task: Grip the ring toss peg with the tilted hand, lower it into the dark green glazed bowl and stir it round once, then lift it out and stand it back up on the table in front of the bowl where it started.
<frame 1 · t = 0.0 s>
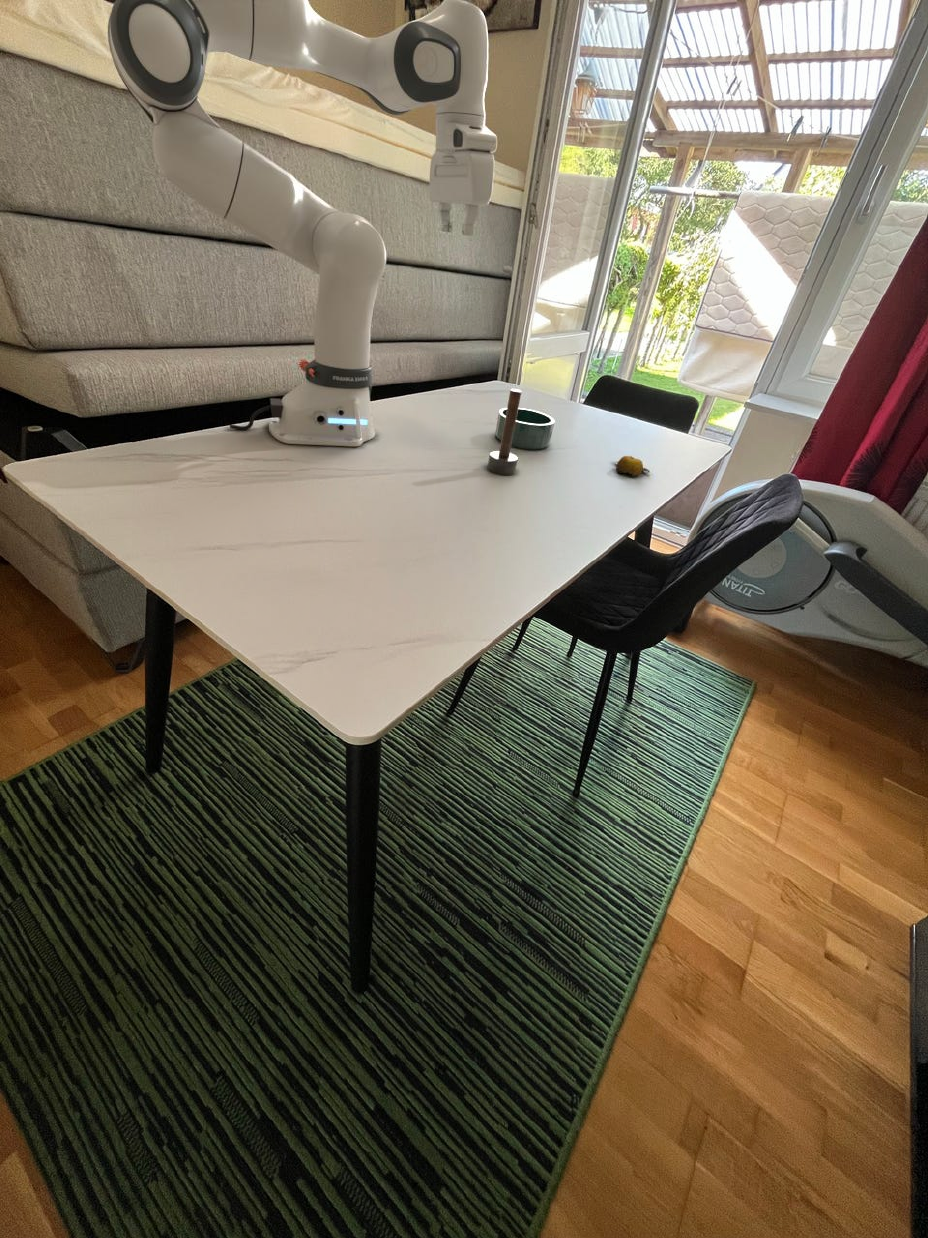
hand: (456, 233, 102), 39 cm above the table, tool pointing down, fingers open, 8 cm apart
bowl: (521, 440, 128), on the table
fruit: (631, 472, 121), on the table
ring toss peg: (501, 469, 110), on the table
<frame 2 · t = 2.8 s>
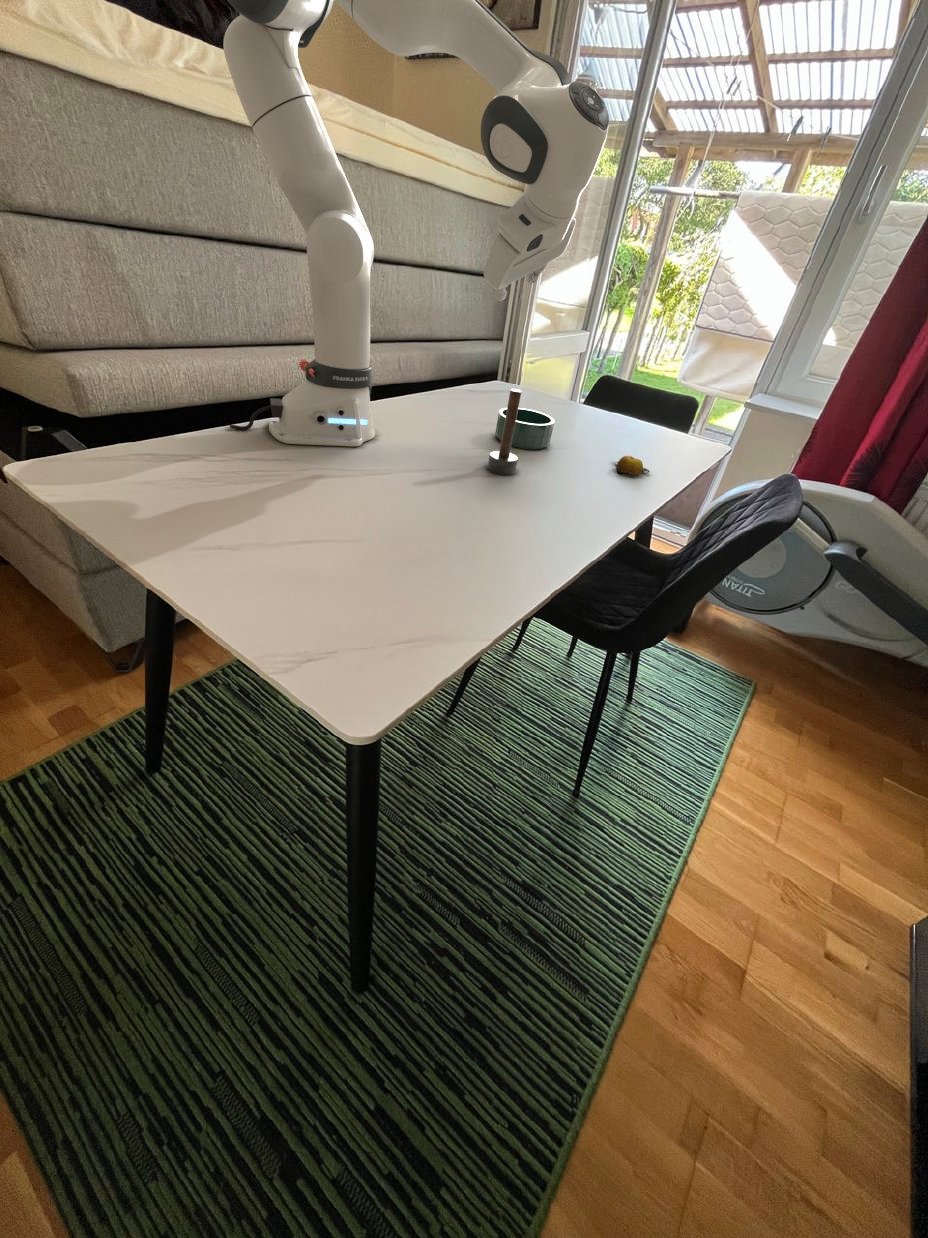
hand: (515, 289, 99), 32 cm above the table, tool tilted 35°, fingers open, 8 cm apart
nothing on the table moved.
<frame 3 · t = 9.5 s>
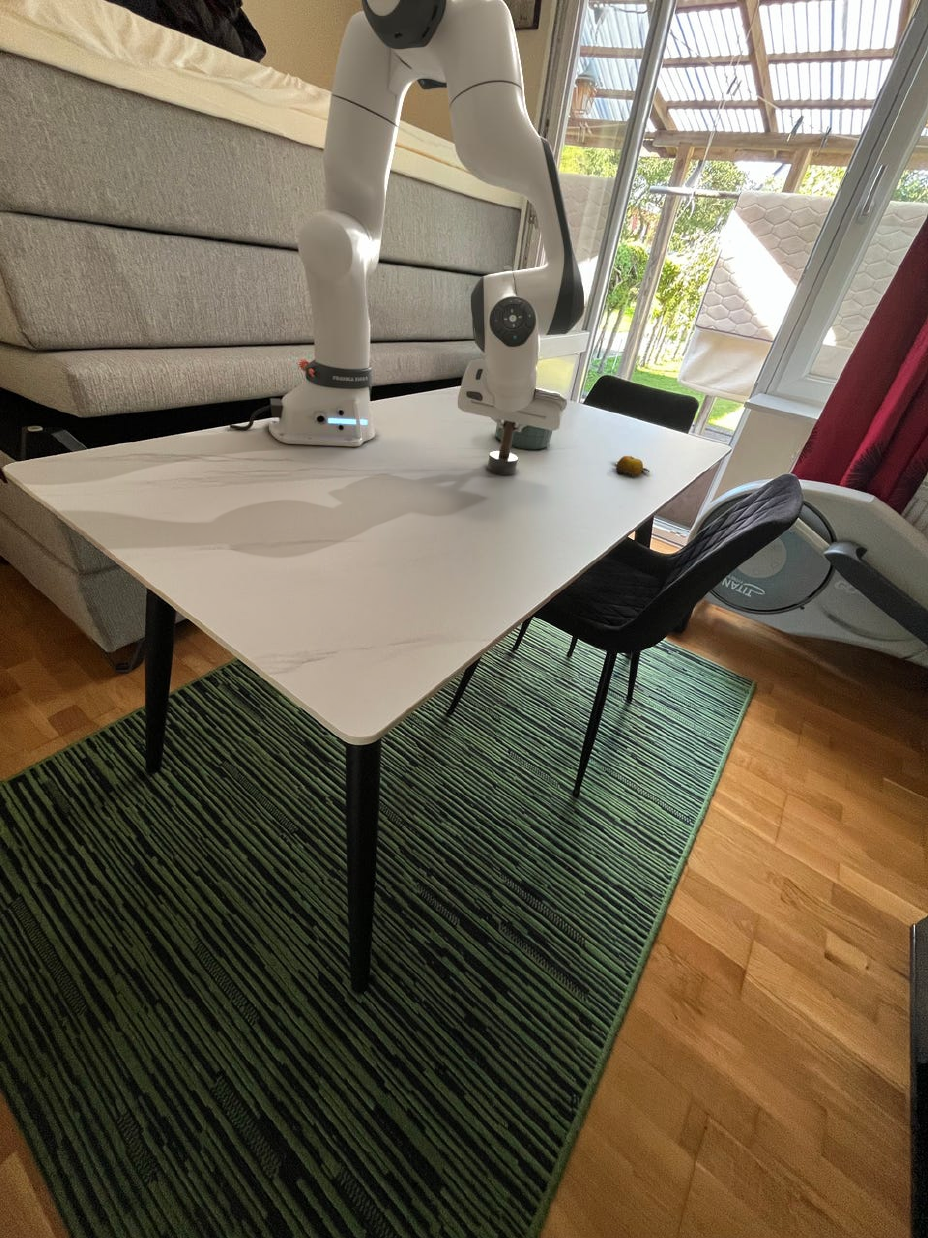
hand: (509, 426, 105), 9 cm above the table, tool tilted 45°, fingers closed on ring toss peg, 2 cm apart
ring toss peg: (501, 469, 110), on the table, touching gripper
everything else where it was.
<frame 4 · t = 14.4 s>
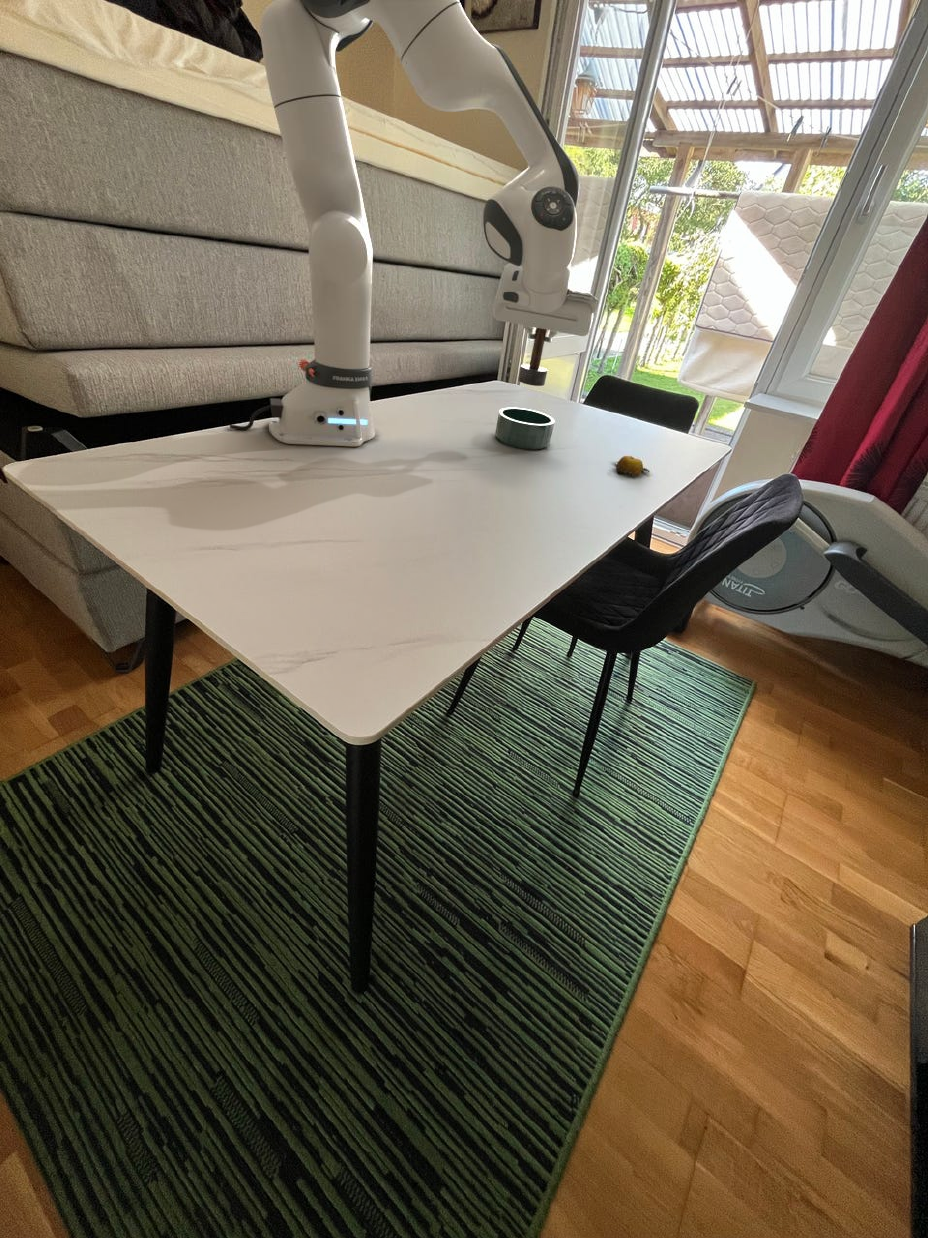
hand: (540, 337, 111), 23 cm above the table, tool tilted 45°, fingers closed on ring toss peg, 2 cm apart
ring toss peg: (531, 382, 116), point 15 cm above the table, touching gripper
everything else where it was.
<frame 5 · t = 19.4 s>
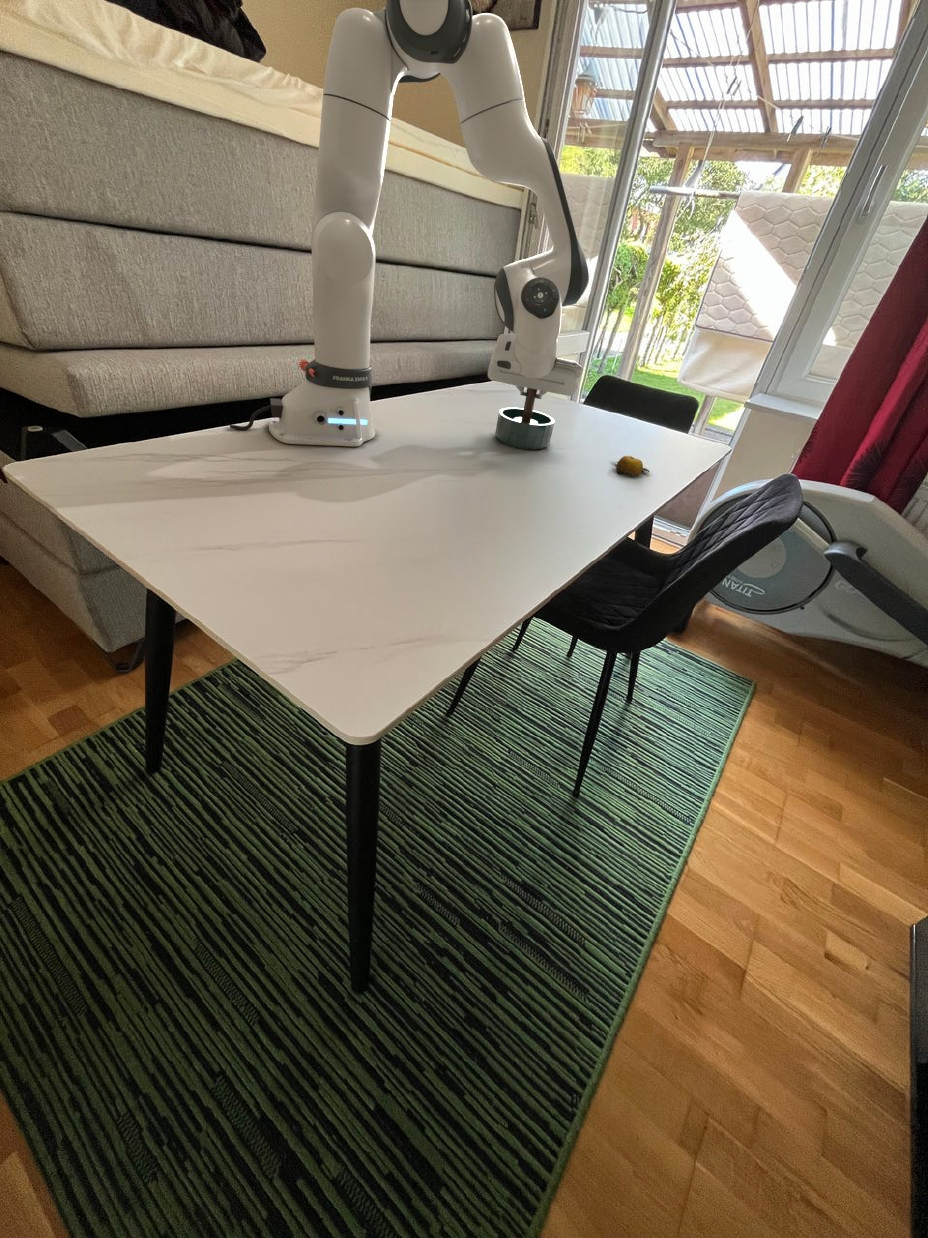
hand: (531, 394, 121), 11 cm above the table, tool tilted 45°, fingers closed on ring toss peg, 2 cm apart
ring toss peg: (523, 433, 126), point 2 cm above the table, touching gripper
everything else where it was.
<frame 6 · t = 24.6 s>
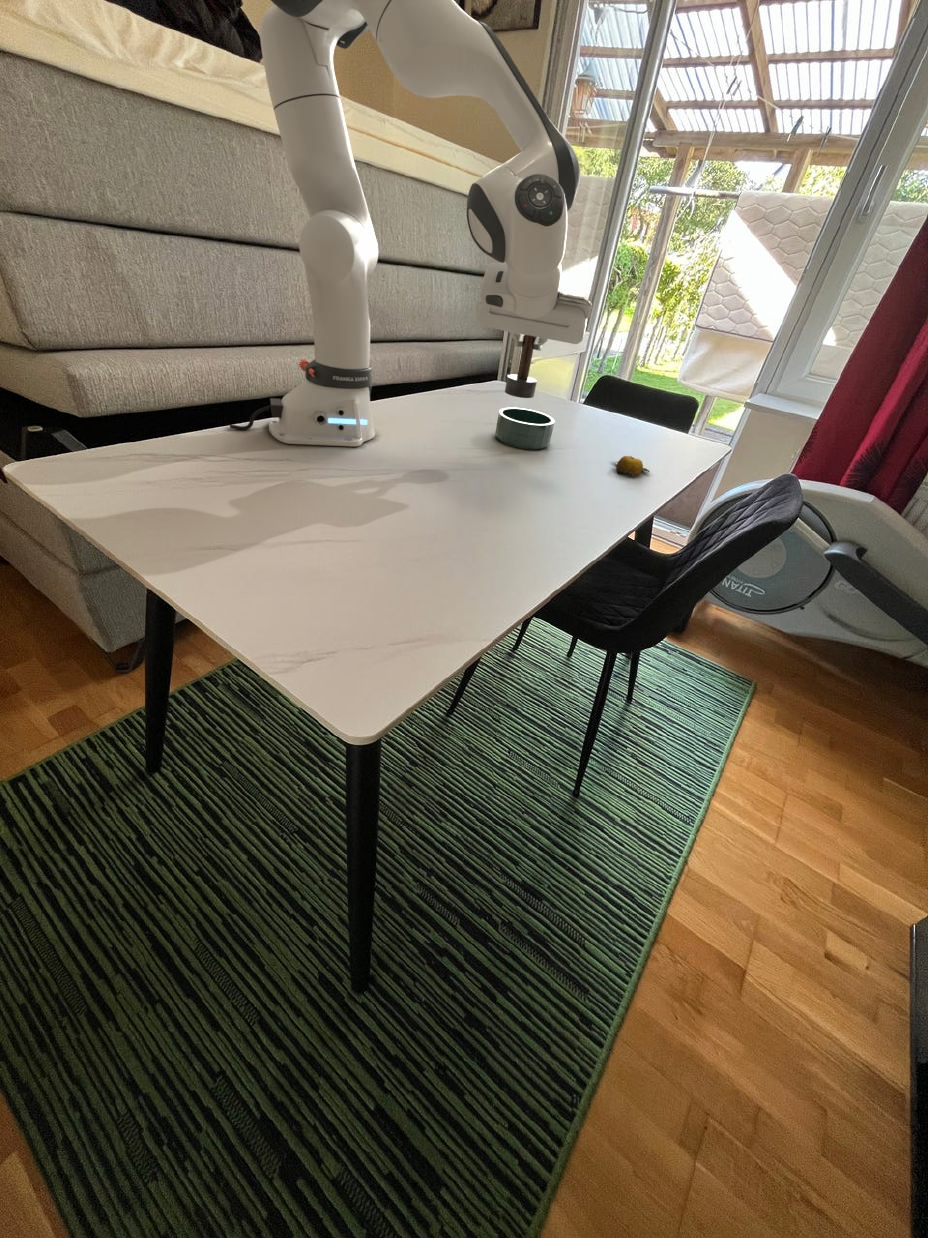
hand: (528, 345, 100), 23 cm above the table, tool tilted 45°, fingers closed on ring toss peg, 2 cm apart
ring toss peg: (519, 393, 105), point 15 cm above the table, touching gripper
everything else where it was.
when the fingers open (9 cm above the table, at t = 29.3 s): ring toss peg stays where it is, on the table.
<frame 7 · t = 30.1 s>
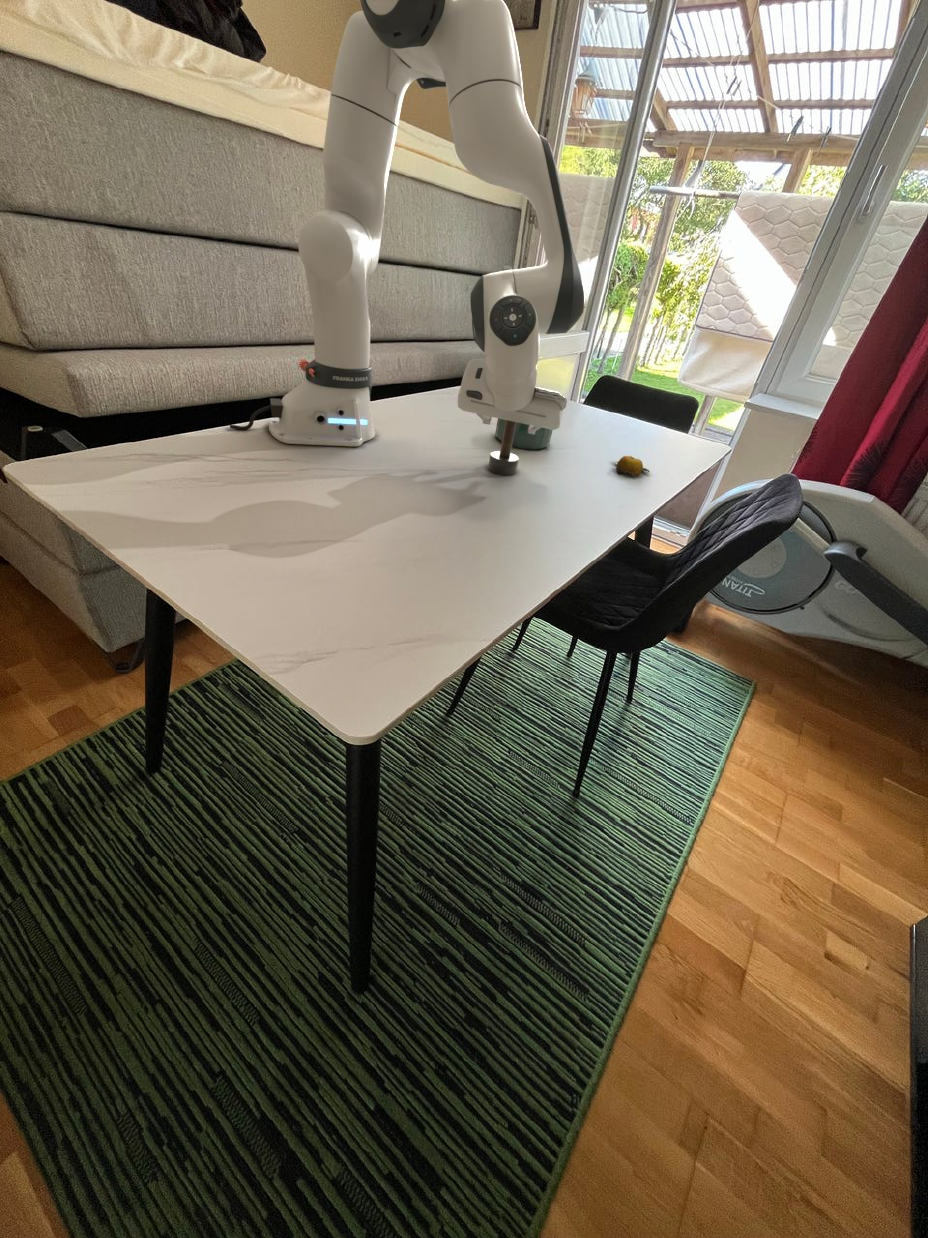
hand: (509, 425, 105), 9 cm above the table, tool tilted 45°, fingers open, 8 cm apart
ring toss peg: (502, 469, 110), on the table
everything else where it was.
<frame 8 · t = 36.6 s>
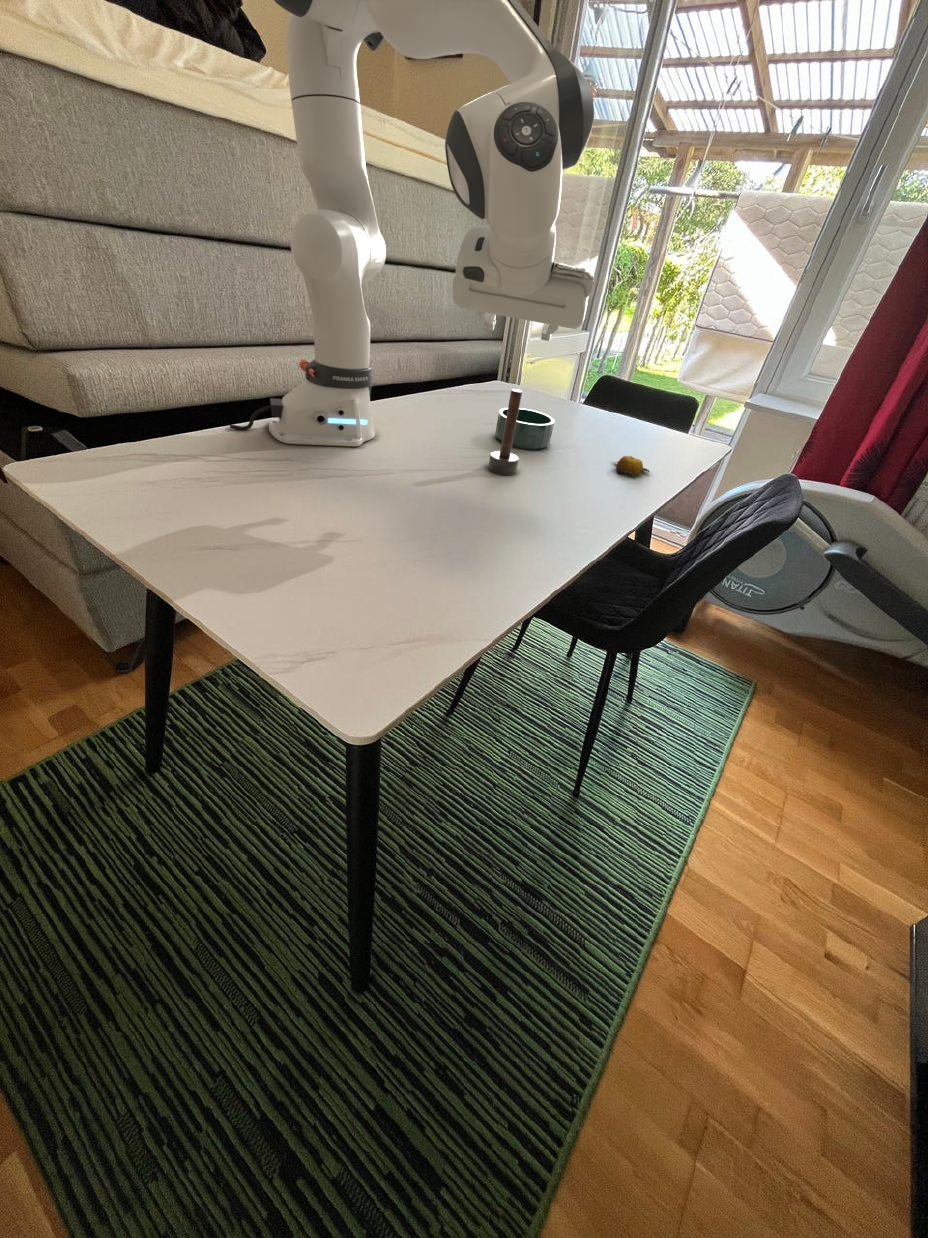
hand: (518, 331, 84), 27 cm above the table, tool tilted 45°, fingers open, 8 cm apart
nothing on the table moved.
at the end: ring toss peg tilted 0°; ring toss peg inside the target area on the table beside the bowl (0.2 cm from its centre), on the table; ring toss peg touching table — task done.
